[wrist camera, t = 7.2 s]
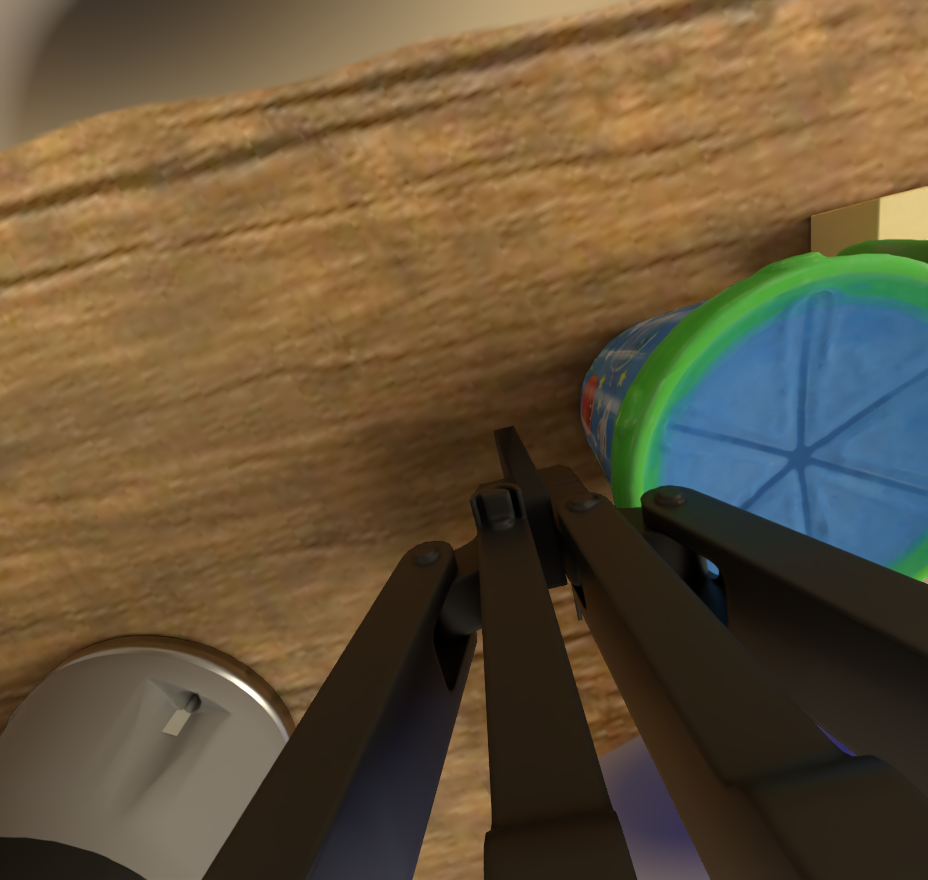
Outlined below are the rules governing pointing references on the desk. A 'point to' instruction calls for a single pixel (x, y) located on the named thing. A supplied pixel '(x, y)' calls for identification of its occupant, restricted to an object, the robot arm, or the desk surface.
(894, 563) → the snack cup
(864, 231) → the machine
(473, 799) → the desk surface
